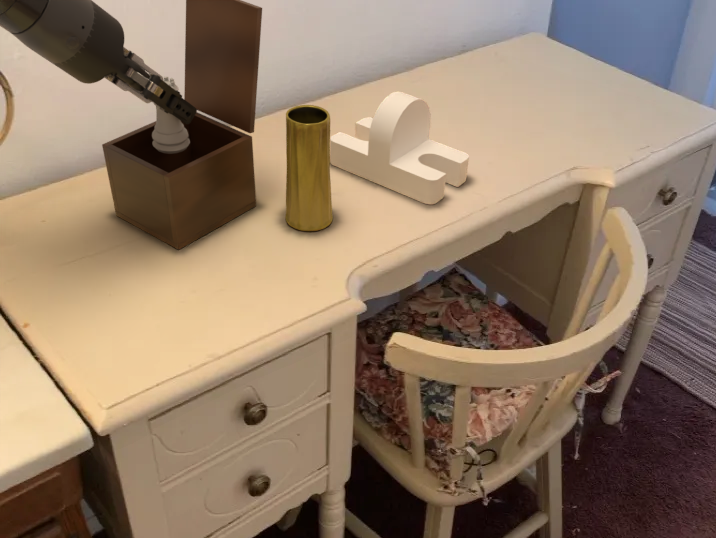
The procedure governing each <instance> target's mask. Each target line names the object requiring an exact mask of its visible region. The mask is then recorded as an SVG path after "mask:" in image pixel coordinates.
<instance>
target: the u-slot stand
mask: <svg viewBox="0 0 716 538" xmlns="http://www.w3.org/2000/svg"><path fill="white" fill-rule="evenodd" d="M431 115H432V114H431V110H430V106H429V104H428V103H427V101H425V100H424V99H423V98H420V97H417V96H414V95H411V94H409V93H406V92H402V91H398V90H397V91H393V92H391V93H389V94H388V95H387V96H386V97H384V99H383V100H382V101H381V102H380V104H379V105H378V108H377V109H376V111H375V113H374V115H373V117H371V116H367V117H363V118H361V119H360V120H358V121H356V122H355V123H354V124H355V125H354V126H355V128H354V136H352V135H350V134H347V133H344V132H342V131H338V132H336V133H334V134H333V135H330V165H332V166H334V167H336V168H339V169H340V170H343V171H346V172H348V173H351V174H353V175H355V176H357V177H358V176H359V178H363V179H365V180H367V181H370V182H372V183H375V184H377V185H378V186H382V187H384V188H386V189H389V190H392V191H394V192H396V193H399V194H401V195H404V196H406V197H408V198H410V199H413V200H415V201H417V202H420V203H422V204H424V205H435V204H437V203H439V202H440V201H441V200H442V199H444V198H445V191H446V184H447V185H448V184H449V185H451V186H454V187H456V188H459V187H460V186H461V185H463V184H464V183H465V182H466V181H467V177H468V168H469V161H470V155H469V154H468V153H467V152H466V151H465V152H464V151H462V150H459V149H458V148H457V149H456V148H454V147H451V146H449V145H446V144H444V143H441V142H438V141H436V140H433V139H431V138H430V132H431V119H432V118H431Z"/></svg>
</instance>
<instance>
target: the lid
mask: <svg viewBox="0 0 716 538" xmlns="http://www.w3.org/2000/svg"><path fill="white" fill-rule="evenodd" d="M262 19H263V7H261V6H258V5H255V4H252V3H250V2H248V1H244V0H185V36H184V37H185V42H184V46H185V47H184V93H183V94H184V98H183V99H184V100H186V101H187V102H188V103H190V104H191V105H193V106H194V107H195V108H196V109H197V112H199V113H200V112H201V113H203V114H204V115H207V116H208V117H209V116H210V117H211V118H214V119H215V120H217V121H218V120H219V121H220V122H222V123H225V124H226V125H230V126H232V127H234V128H235V129H236V128H237V129H239V130H241V131H244V133H245V132H246V133H248V134H252V133H253V134H254V133H255V125H256V123H255V122H256V109H257V95H258V80H259V77H258V76H259V64H260V50H261V33H262Z"/></svg>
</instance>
